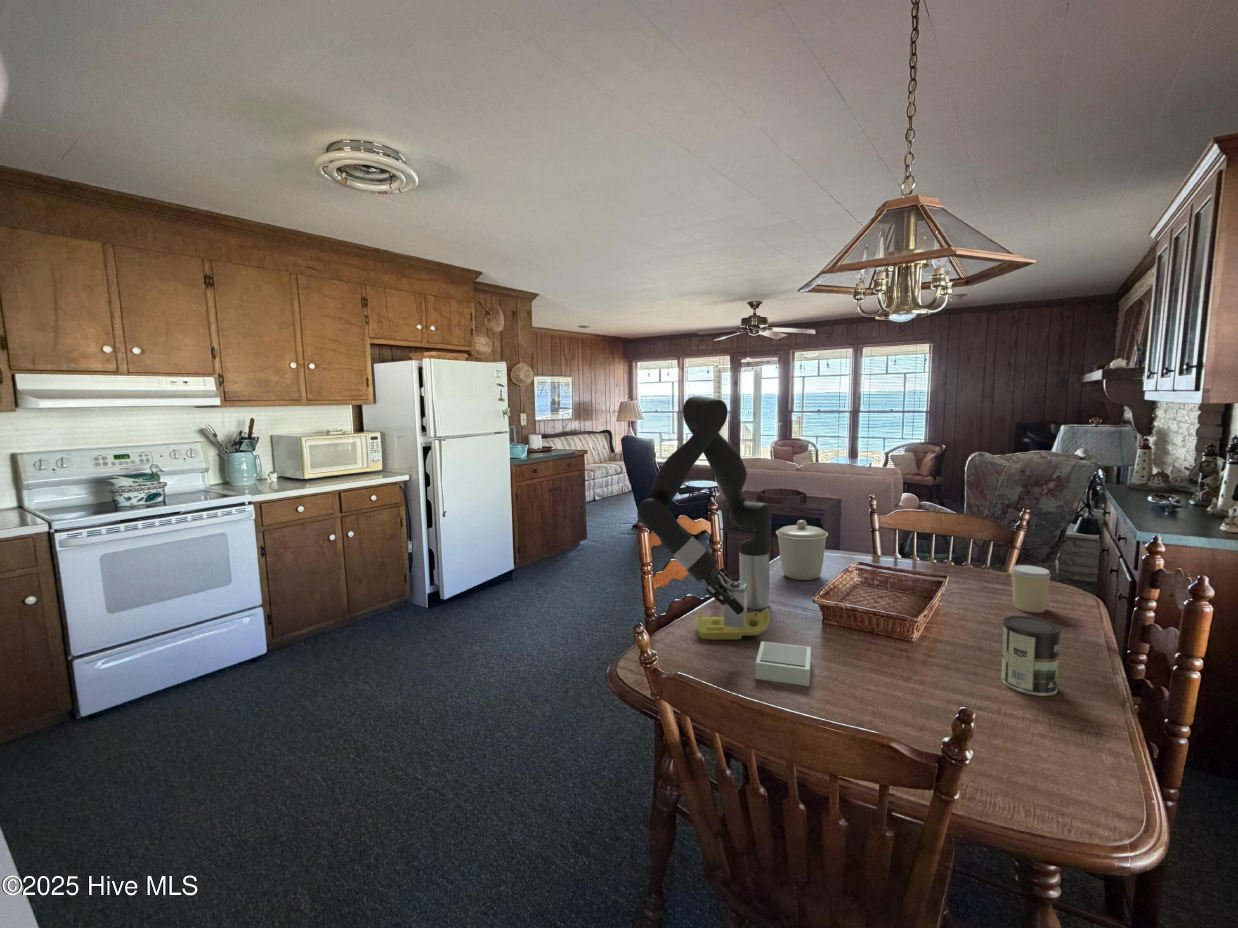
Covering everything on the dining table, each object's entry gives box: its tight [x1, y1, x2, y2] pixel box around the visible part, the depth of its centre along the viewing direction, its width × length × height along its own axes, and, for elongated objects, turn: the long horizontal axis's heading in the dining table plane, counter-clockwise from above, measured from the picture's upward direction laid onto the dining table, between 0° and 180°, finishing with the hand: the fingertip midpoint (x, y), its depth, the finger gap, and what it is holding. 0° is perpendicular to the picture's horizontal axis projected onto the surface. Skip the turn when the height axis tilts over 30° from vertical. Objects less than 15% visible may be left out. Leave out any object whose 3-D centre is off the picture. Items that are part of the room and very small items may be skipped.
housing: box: [723, 580, 748, 628], centre depth 140 cm, size 5×5×11 cm
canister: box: [775, 519, 829, 581], centre depth 202 cm, size 18×18×21 cm
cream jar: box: [1011, 564, 1052, 613], centre depth 166 cm, size 9×9×12 cm
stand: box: [755, 640, 812, 687], centre depth 133 cm, size 12×12×4 cm
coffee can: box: [1000, 615, 1062, 697], centre depth 123 cm, size 10×10×14 cm
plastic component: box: [696, 607, 771, 641], centre depth 155 cm, size 20×7×10 cm
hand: (742, 607), depth 140 cm, fingers closed on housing, 5 cm apart
